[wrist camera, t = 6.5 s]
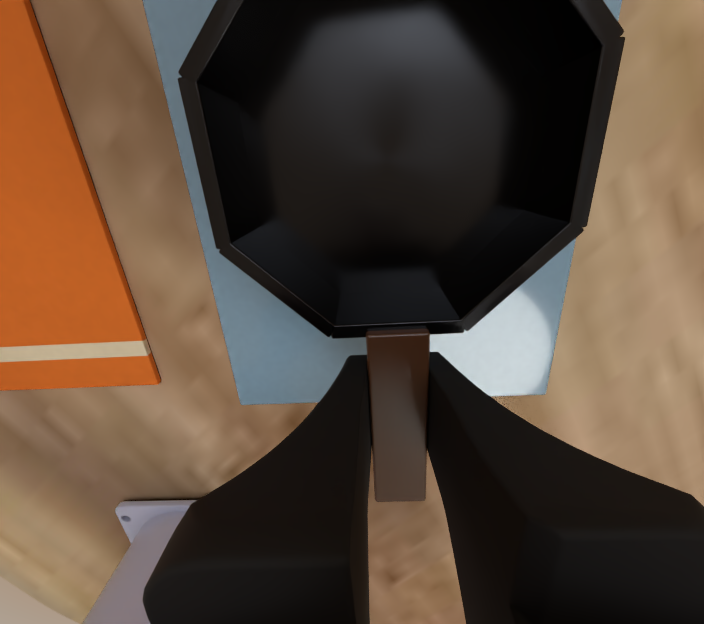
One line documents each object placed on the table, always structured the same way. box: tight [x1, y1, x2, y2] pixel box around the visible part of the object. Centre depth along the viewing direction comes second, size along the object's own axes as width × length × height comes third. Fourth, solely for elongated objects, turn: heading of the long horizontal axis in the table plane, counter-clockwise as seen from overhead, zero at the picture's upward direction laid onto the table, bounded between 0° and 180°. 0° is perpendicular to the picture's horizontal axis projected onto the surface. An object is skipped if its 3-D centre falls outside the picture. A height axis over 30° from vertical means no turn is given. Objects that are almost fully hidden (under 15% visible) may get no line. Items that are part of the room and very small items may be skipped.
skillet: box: [178, 0, 625, 502], centre depth 9 cm, size 14×8×3 cm, turn 4°
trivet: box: [142, 0, 622, 405], centre depth 12 cm, size 18×14×1 cm
